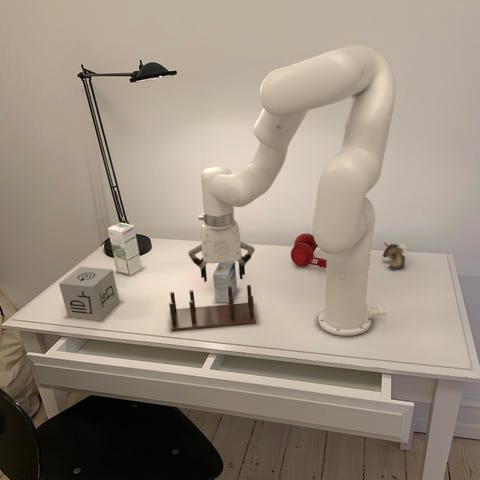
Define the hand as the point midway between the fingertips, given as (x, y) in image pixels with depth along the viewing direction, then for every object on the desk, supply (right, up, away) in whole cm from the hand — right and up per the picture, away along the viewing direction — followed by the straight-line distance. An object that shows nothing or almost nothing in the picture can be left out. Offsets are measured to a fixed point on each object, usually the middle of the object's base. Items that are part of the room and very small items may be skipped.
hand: (223, 278), depth 139 cm
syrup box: (-30, +4, +20) cm, 36 cm away
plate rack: (-2, -11, -7) cm, 13 cm away
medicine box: (+1, -5, +3) cm, 5 cm away
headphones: (+30, +6, +17) cm, 36 cm away
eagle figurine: (+50, +5, +13) cm, 52 cm away
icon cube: (-35, -9, +1) cm, 36 cm away
